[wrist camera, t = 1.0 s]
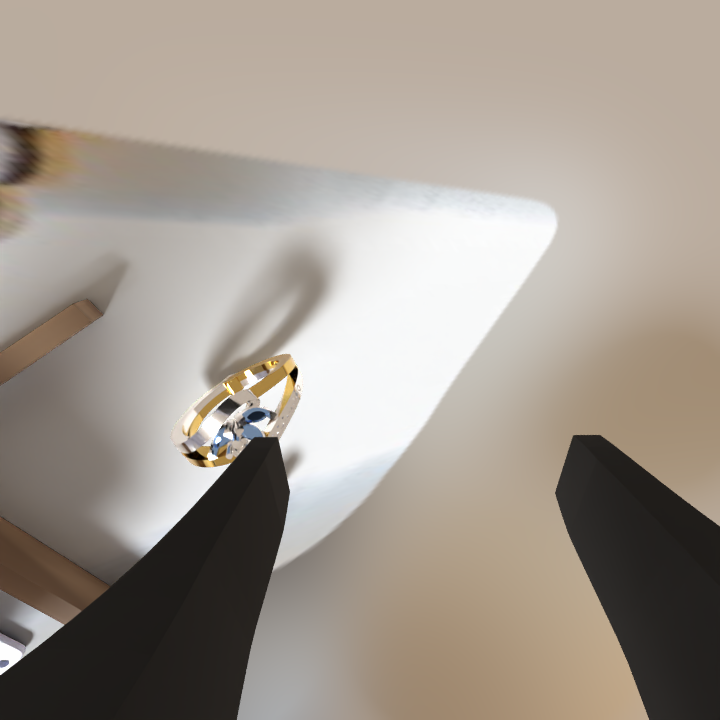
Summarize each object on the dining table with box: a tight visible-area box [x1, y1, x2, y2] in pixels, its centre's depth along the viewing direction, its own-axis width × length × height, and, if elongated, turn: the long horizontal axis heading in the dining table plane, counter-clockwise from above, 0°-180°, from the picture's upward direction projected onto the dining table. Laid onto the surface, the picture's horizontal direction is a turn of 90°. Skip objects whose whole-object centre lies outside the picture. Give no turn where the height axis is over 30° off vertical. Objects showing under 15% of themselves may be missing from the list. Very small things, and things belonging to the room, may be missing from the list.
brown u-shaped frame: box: [0, 299, 111, 625], centre depth 20 cm, size 12×16×2 cm
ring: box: [170, 354, 303, 467], centre depth 19 cm, size 7×3×8 cm, turn 115°
